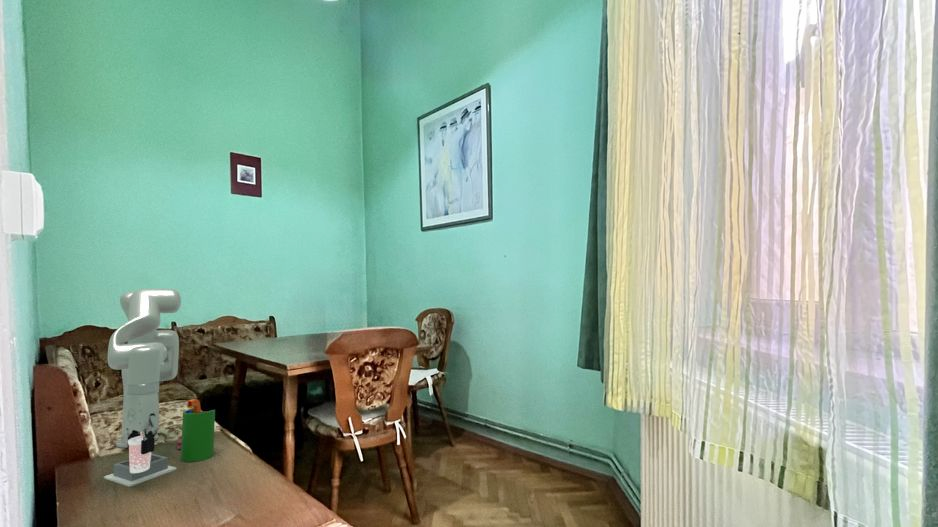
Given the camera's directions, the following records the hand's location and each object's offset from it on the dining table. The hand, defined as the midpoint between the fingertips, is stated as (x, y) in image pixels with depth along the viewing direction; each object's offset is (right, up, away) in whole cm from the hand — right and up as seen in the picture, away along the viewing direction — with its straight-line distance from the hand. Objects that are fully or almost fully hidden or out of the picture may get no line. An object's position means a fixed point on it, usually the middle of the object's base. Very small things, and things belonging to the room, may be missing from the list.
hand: (140, 450), depth 122 cm
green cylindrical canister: (+2, -12, +22) cm, 25 cm away
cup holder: (-7, -11, +9) cm, 16 cm away
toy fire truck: (-8, -14, +36) cm, 39 cm away
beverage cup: (0, -6, 0) cm, 6 cm away
